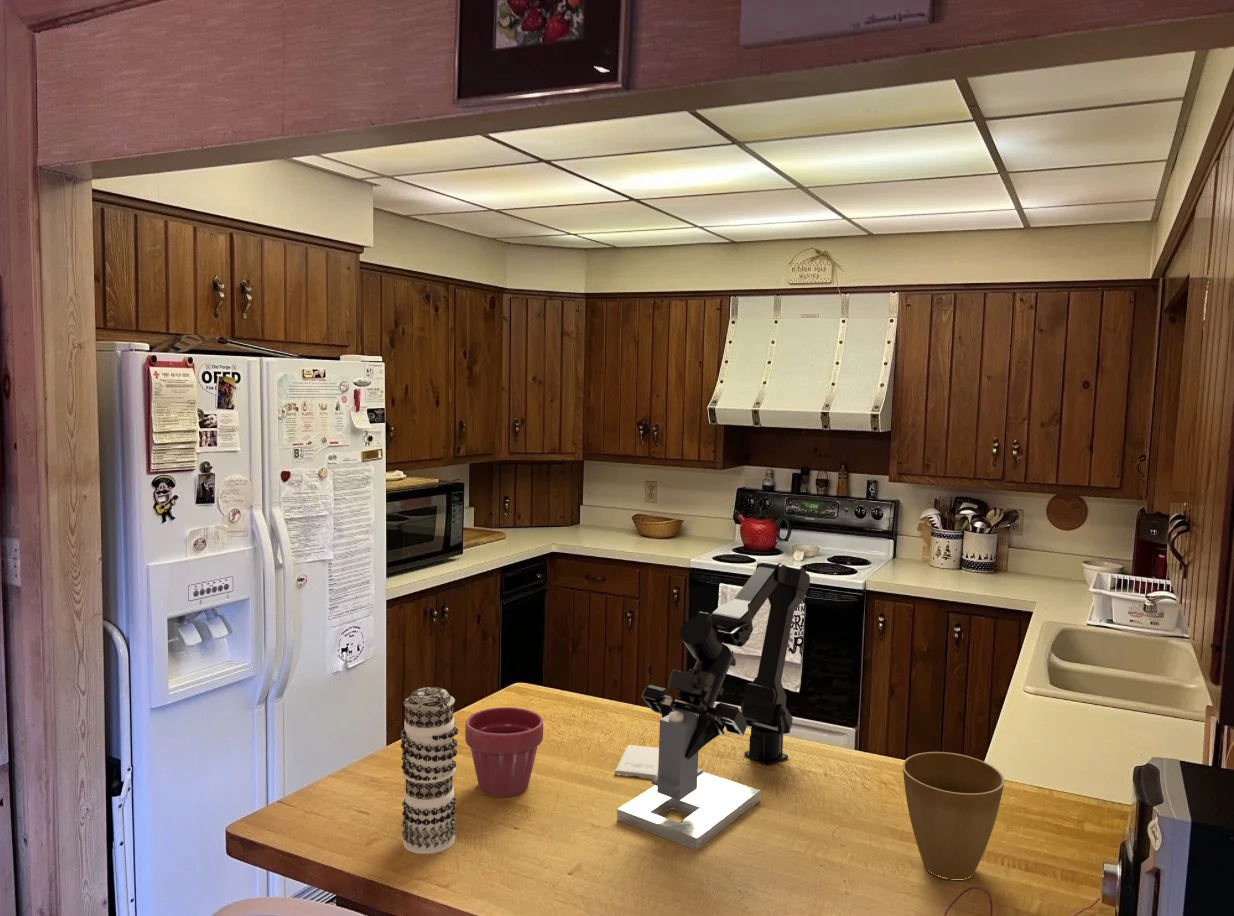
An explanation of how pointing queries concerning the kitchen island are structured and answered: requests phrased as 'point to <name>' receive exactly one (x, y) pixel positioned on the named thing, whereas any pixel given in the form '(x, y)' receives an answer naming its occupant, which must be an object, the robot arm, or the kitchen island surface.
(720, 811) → the plate
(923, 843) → the plant pot
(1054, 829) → the kitchen island surface
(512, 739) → the plant pot
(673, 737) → the block
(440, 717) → the decorative candle
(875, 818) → the kitchen island surface
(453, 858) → the kitchen island surface
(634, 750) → the external hard drive
